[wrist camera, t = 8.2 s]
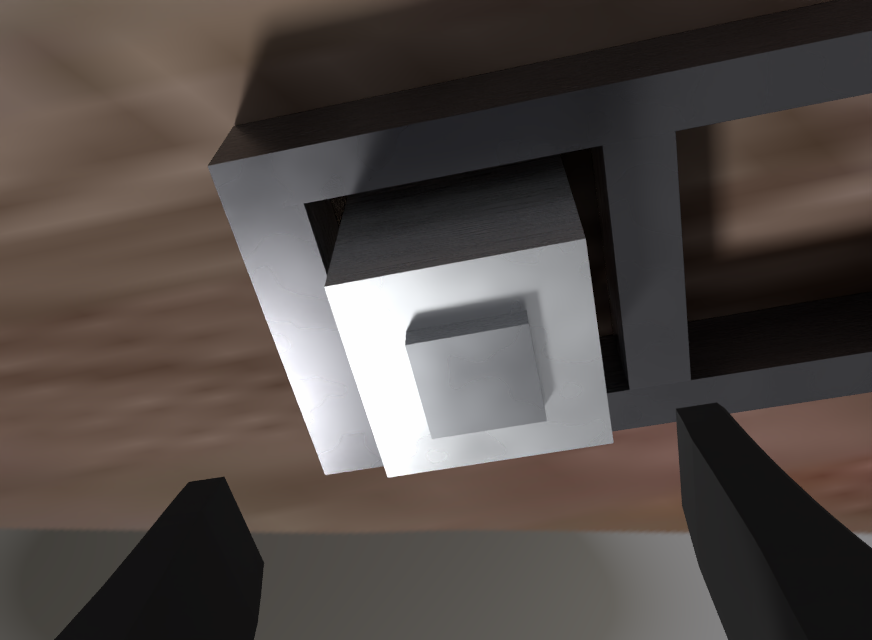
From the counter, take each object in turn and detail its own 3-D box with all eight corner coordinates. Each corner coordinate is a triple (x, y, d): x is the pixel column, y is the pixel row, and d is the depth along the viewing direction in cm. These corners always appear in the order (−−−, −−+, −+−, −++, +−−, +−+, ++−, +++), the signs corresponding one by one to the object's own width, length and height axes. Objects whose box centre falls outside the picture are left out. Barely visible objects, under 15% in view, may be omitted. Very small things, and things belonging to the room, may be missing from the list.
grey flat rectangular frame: (336, 415, 24) (325, 474, 22) (233, 126, 20) (207, 166, 18) (983, 312, 22) (1039, 366, 20) (1040, -43, 18) (1121, -20, 15)
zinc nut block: (400, 340, 23) (386, 493, 18) (353, 175, 20) (320, 300, 15) (579, 308, 22) (617, 458, 17) (554, 135, 20) (589, 251, 15)
